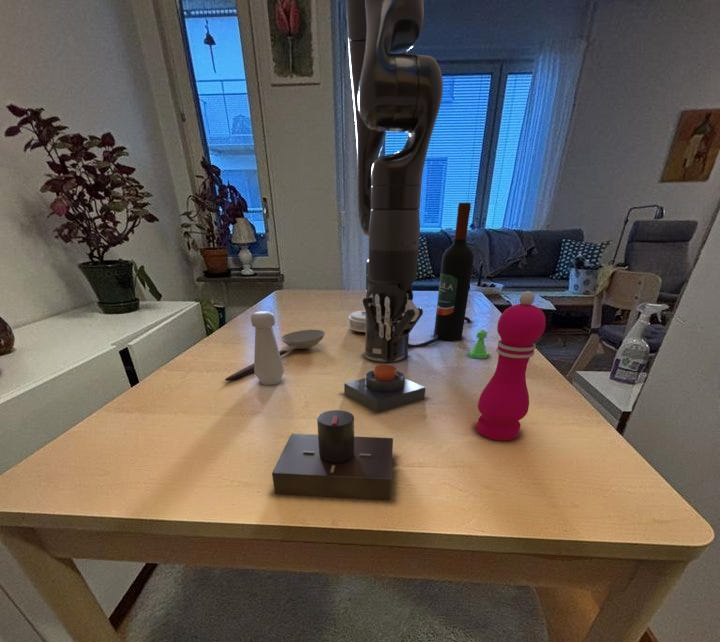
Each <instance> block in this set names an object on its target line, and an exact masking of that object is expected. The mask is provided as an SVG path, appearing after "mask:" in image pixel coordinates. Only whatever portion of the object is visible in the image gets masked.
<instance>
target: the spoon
mask: <svg viewBox="0 0 720 642" xmlns="http://www.w3.org/2000/svg"><path fill="white" fill-rule="evenodd" d="M325 335H326V332H325V331H324V330H321V329H303V330H302V329H301V330H297V331H293V332H289V333H286V334H284V335H283V336H281V338H280V340H281V342H283V343H284V344H286V345H287V346H286V347H285V348H283V349H281V350H279V353H280V357H282V356H284V355H285V354H287V353H290V352H291V351H293V350H297V349H299V350H306V349H310V348H313V347H315V346H316V345H318V344H319V343H320V342H321V341H322V340H323V339H324V337H325ZM253 372H254V363H252V364H250V365H248V366H246V367H244V368H242V369H240V370H238V371H236V372H234V373H233V374H231V375H229V376H228V377H226V378H225V379H224V380H225V381H232V380H236V379H238V378H241V377H243V376H247V375H249V374H251V373H253Z"/></svg>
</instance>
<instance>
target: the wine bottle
mask: <svg viewBox="0 0 720 642" xmlns="http://www.w3.org/2000/svg"><path fill="white" fill-rule="evenodd" d="M471 205H472V203H471V202H458V205H457V216H456V224H455V231H454V239H453V242H452V244H451V245H450V246H449V247H447V249H446V250H445V251H444V253H443V254H442V257H441V267H440V274H439V275H440V276H439V285H438V293H437V294H438V295H437V302H436V313H435V322H434V328H433V329H434V330H433V339H434V338H435V336H436V335H438V336H439V338H438V340H437V341H442V342H443V341H444V342H457V341H461V340H462V338H463V331H464V326H465V320H464V319H465V317H466V311H467V306H468V298H469V292H470V285H471V278H472V271H473V266H474V265H473V264H474V254H473V251H472V249H470V246H468V245H467V237H468V236H467V234H468V228H469V226H468V225H469V219H470V212H471V209H472V208H471V207H472V206H471Z"/></svg>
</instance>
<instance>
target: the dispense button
mask: <svg viewBox="0 0 720 642" xmlns="http://www.w3.org/2000/svg"><path fill="white" fill-rule="evenodd" d="M373 371H374V378H375V379H378V380H393V379H396V371H397V367H396V366H394V365H390V364H378V365H375V366H374V367H373Z"/></svg>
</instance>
